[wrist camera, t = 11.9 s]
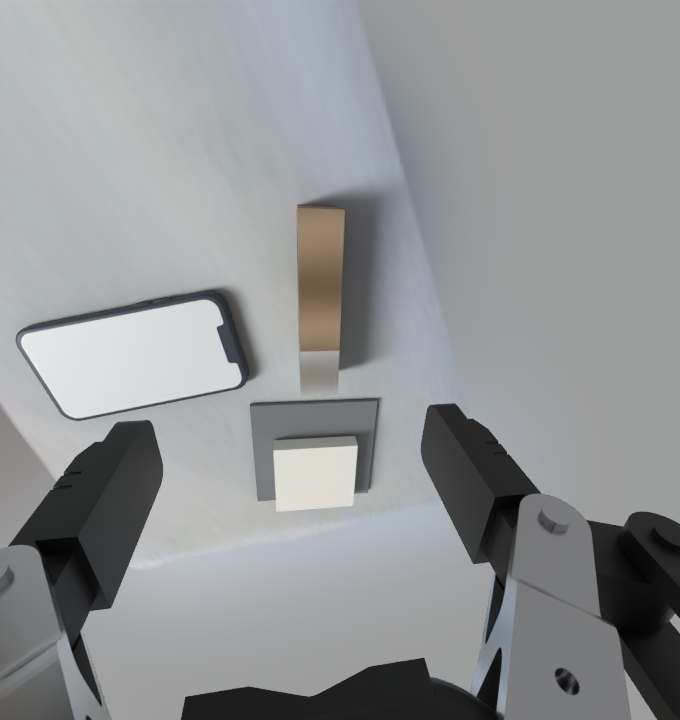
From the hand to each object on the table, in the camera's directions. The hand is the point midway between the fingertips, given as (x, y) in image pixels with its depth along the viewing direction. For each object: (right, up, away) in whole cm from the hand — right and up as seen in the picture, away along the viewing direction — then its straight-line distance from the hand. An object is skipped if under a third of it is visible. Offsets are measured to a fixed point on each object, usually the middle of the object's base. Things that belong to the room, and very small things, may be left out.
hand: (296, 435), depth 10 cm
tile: (-1, -6, +23) cm, 24 cm away
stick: (-1, +7, +19) cm, 20 cm away
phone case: (-15, +3, +19) cm, 25 cm away
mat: (-1, -7, +25) cm, 26 cm away
